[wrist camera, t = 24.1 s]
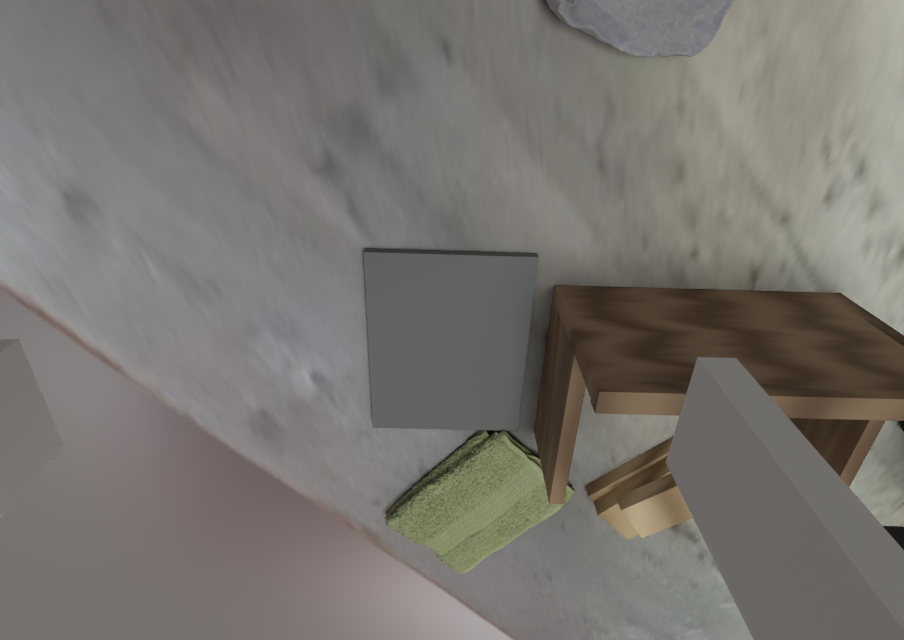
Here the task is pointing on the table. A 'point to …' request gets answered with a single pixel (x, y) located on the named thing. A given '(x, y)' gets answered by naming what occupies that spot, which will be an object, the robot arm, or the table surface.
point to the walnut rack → (721, 336)
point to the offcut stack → (640, 495)
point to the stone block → (646, 23)
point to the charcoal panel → (448, 337)
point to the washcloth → (475, 501)
